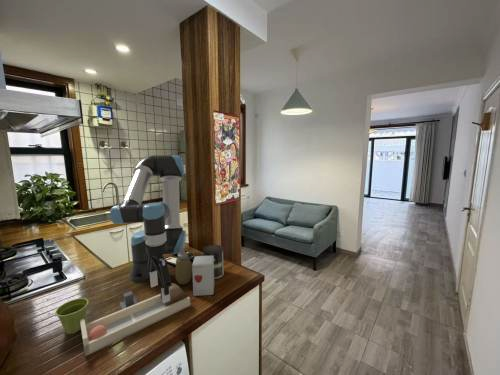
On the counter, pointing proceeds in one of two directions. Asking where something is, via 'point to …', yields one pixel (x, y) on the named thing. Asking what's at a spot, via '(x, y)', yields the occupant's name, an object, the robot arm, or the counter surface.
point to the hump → (175, 294)
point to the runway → (128, 321)
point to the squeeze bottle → (183, 268)
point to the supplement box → (203, 275)
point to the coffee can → (216, 259)
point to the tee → (128, 300)
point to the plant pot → (72, 314)
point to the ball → (97, 332)
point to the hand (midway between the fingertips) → (160, 293)
